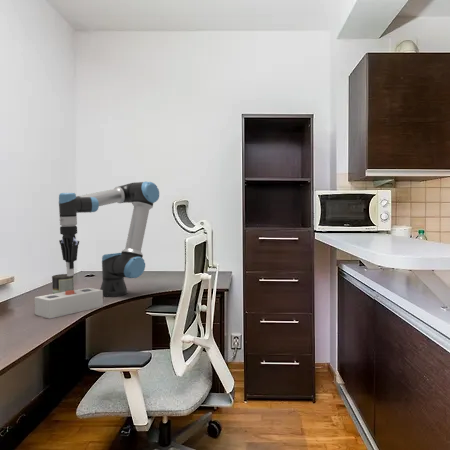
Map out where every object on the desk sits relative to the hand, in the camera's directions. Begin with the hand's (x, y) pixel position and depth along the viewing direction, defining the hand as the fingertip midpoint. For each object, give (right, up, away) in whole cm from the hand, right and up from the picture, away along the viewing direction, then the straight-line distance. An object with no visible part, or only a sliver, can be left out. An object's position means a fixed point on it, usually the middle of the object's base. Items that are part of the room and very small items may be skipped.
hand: (70, 275), depth 194 cm
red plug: (0, -14, 0) cm, 14 cm away
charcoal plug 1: (-6, -16, -7) cm, 18 cm away
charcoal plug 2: (+5, -15, +7) cm, 17 cm away
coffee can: (-10, -16, +16) cm, 25 cm away
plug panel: (0, -17, 0) cm, 17 cm away
